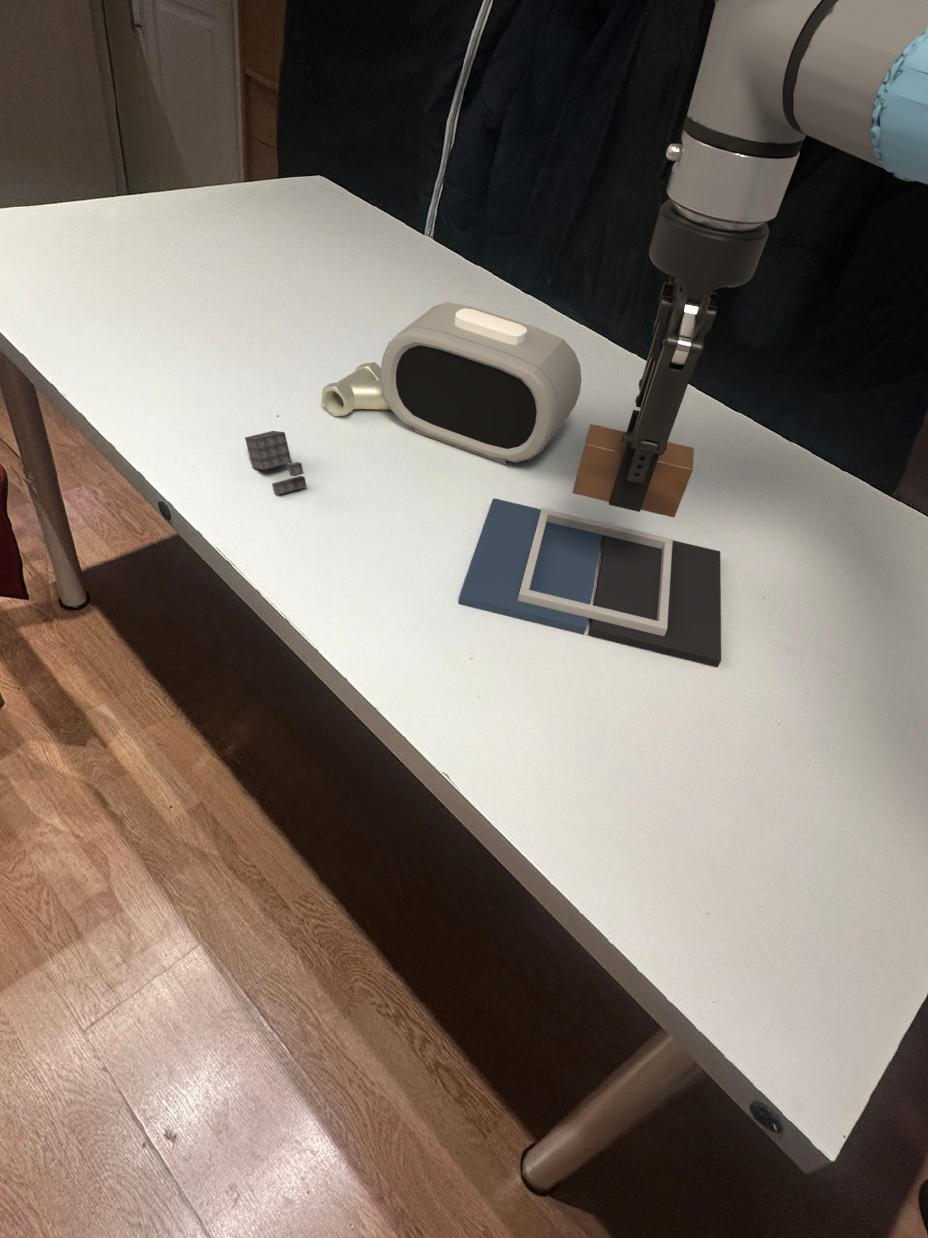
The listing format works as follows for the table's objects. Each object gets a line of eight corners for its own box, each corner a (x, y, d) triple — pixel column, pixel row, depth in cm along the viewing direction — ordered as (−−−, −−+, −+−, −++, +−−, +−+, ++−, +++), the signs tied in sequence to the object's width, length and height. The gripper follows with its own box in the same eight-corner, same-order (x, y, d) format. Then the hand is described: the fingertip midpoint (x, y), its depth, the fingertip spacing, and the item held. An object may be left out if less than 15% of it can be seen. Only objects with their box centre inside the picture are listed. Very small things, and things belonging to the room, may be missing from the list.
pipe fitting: (406, 407, 99) (360, 384, 101) (411, 379, 96) (364, 355, 98) (368, 435, 94) (320, 410, 96) (371, 405, 91) (323, 380, 93)
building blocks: (273, 430, 87) (304, 434, 80) (285, 481, 89) (316, 489, 82) (244, 437, 85) (274, 441, 79) (257, 489, 87) (287, 497, 81)
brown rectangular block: (675, 495, 73) (694, 447, 70) (674, 518, 70) (693, 469, 67) (577, 471, 74) (590, 423, 70) (572, 493, 71) (585, 444, 68)
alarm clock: (375, 422, 95) (381, 310, 86) (413, 389, 102) (422, 281, 93) (538, 482, 91) (564, 370, 81) (567, 443, 97) (593, 335, 88)
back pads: (717, 558, 85) (723, 543, 83) (717, 667, 73) (725, 652, 72) (491, 505, 87) (494, 489, 85) (457, 604, 75) (460, 587, 74)
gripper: (667, 165, 62) (594, 434, 78) (656, 239, 50) (573, 538, 66) (767, 185, 61) (672, 452, 78) (779, 265, 49) (664, 560, 66)
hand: (626, 491), depth 72 cm, fingers closed on brown rectangular block, 3 cm apart
